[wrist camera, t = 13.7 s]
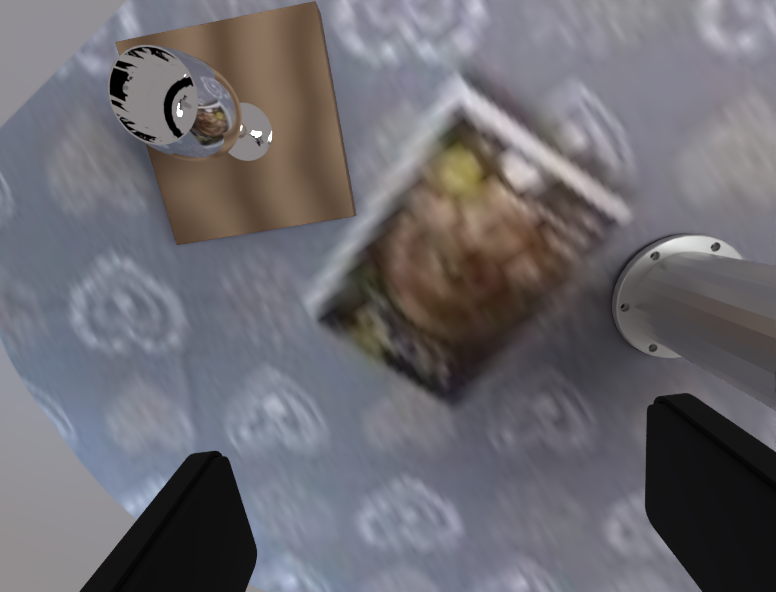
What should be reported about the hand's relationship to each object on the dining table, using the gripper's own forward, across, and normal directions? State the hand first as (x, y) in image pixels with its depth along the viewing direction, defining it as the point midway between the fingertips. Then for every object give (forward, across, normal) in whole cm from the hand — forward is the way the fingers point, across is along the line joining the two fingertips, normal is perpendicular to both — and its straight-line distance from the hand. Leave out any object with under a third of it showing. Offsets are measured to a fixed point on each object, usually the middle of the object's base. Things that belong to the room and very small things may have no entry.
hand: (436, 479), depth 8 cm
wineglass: (+26, +12, -13) cm, 31 cm away
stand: (+30, +12, -13) cm, 35 cm away
